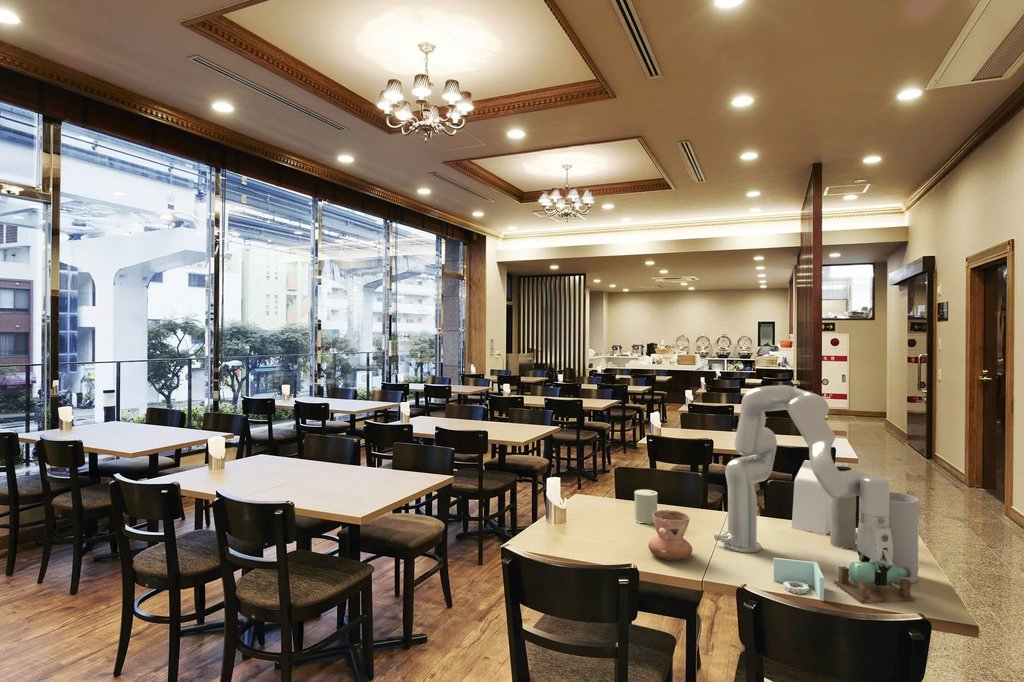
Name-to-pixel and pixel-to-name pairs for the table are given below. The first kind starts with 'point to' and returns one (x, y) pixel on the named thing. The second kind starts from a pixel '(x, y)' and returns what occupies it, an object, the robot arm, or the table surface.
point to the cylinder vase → (904, 532)
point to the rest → (874, 590)
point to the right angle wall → (799, 575)
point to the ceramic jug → (670, 535)
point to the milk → (810, 502)
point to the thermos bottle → (843, 519)
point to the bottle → (868, 572)
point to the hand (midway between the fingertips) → (873, 579)
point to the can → (645, 505)
